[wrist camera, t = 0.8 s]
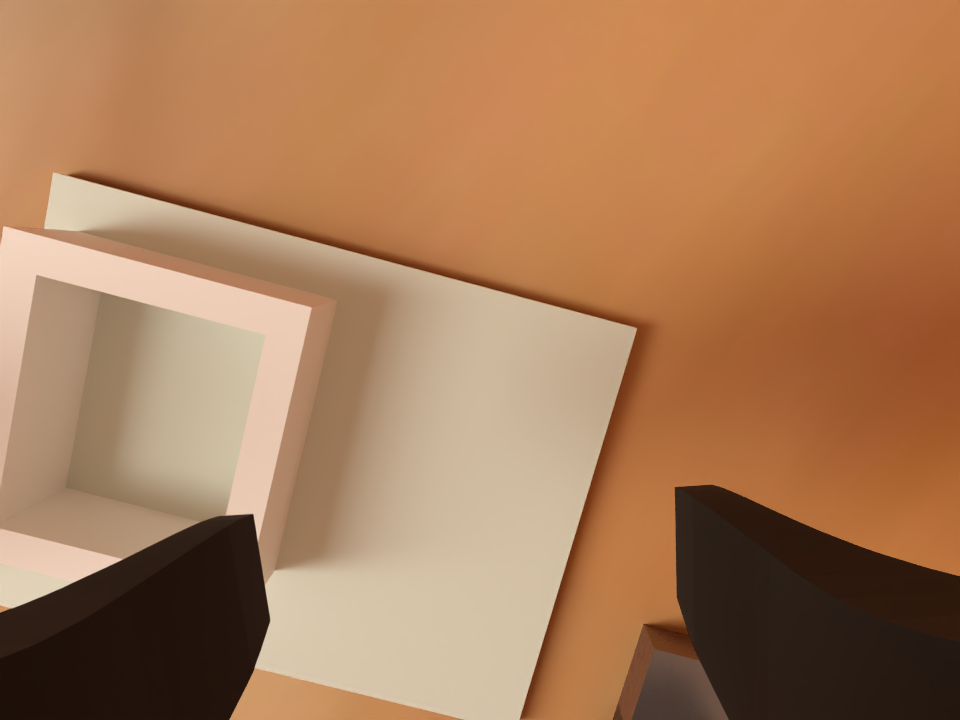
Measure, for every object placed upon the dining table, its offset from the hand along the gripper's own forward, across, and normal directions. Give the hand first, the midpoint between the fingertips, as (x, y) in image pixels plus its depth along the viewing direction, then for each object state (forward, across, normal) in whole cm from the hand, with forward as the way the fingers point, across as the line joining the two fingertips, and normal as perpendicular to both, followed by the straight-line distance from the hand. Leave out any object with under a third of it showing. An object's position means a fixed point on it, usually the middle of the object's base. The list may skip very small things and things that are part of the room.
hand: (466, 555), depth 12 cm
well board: (+10, +6, +2) cm, 12 cm away
